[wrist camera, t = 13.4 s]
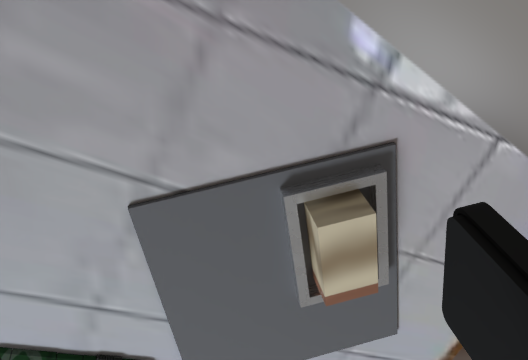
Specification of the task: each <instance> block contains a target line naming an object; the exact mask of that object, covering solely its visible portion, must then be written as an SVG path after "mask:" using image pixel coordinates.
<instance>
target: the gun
mask: <svg viewBox="0 0 528 360" xmlns="http://www.w3.org/2000/svg"><path fill="white" fill-rule="evenodd" d="M0 358H1V360H133V359H123V358H122V357H117V356H105V355H97V356H90V355H74V354H63V353H57V352H47V351H36V350H25V349H14V348H13V350H12V348H3V347H0Z"/></svg>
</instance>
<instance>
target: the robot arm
mask: <svg viewBox="0 0 528 360" xmlns="http://www.w3.org/2000/svg"><path fill="white" fill-rule="evenodd" d="M442 311H443V315H444V318H445V320H446V322H447V324H448V326H449V327H450V329H451V330H452V331H453V333H454V334H455V336H456V337H457V339H458V340H459V341H460V343H461V344H462V346H463V347H464V349H465V350H466V351H467V353H468V354H469V356H470V357H471V359H472V360H528V240H527V239H526V238H525V237H524V236H522V235H521V234H520V233H519V232H518V231H517V230H516V229H515V228H514V227H513V226H512V225H510V224H509V223H508V222H507V221H506V220H505V219H504V218H503V217H502V216H501V215H500V214H498V213H497V212H496V211H495V210H494V209H493V208H492V207H491V206H490V205H488V204H487V203H485V202H480V203H476V204H472V205H468V206H464V207H460V208H457V209H456V210H455V211H454V214H453V217H450V218H449V219H448V220H447V231H446V248H445V265H444V283H443V300H442ZM0 360H1V358H0Z"/></svg>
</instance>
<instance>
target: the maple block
mask: <svg viewBox="0 0 528 360" xmlns="http://www.w3.org/2000/svg"><path fill="white" fill-rule="evenodd" d="M304 206H305V214H306V223H307V231H308V239H309V247H310V255H311V264H312V272H313V278H314V280H315V283H316V285H317V287H318V289H319V292H320V294H321V296H322V298H323V301H324V303H325V305H326V306H330V305H333V304H337V303H341V302H345V301H348V300H352V299H356V298H360V297H363V296H367V295H371V294H375V293H378V262H377V228H376V212H375V211H374V210H373V208H372V207H371V206H370V204H369V203H368V201H367V200H366V199H365V197H364V196H363V194H362V193H361V192H360V190H359V189H356V190H352V191H348V192H344V193H340V194H336V195H332V196H327V197H323V198H319V199H315V200H311V201H307V202H304Z"/></svg>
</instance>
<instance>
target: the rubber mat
mask: <svg viewBox="0 0 528 360" xmlns="http://www.w3.org/2000/svg"><path fill="white" fill-rule="evenodd" d="M375 164H380V165H381V166H382V167H383V168H384V169H385V171H386V172H387V214H388V262H389V284H387V285H384V286H380V287H378V293H375V294H371V295H367V296H363V297H360V298H356V299H352V300H348V301H345V302H341V303H337V304H333V305H330V306H326V305H325V303H324V302H321V303H317V304H313V305H309V306H306V307H302V308H301V307H300V304H299V302H298V299H297V296H296V290H295V283H294V277H293V271H292V264H291V258H290V252H289V245H288V239H287V233H286V226H285V220H284V214H283V207H282V201H281V195H280V188H281V187H285V186H289V185H293V184H298V183H302V182H306V181H310V180H314V179H318V178H322V177H326V176H330V175H334V174H339V173H343V172H347V171H351V170H355V169H359V168H363V167H367V166H371V165H375ZM359 190H360V192H361V193H362V194H363V196H364V197H365V199H366V200H367V201H368V203H369V204H370V188H369V186H368V187H364V188H360V189H359ZM128 210H129V213H130V216H131V219H132V222H133V224H134V227H135V230H136V233H137V235H138V238H139V241H140V244H141V246H142V249H143V252H144V255H145V258H146V260H147V263H148V266H149V269H150V271H151V274H152V277H153V280H154V282H155V285H156V288H157V291H158V294H159V296H160V299H161V302H162V305H163V307H164V310H165V313H166V316H167V319H168V321H169V324H170V327H171V330H172V332H173V335H174V338H175V341H176V343H177V346H178V349H179V352H180V355H181V357H182V360H306V359H309V358H313V357H317V356H320V355H324V354H327V353H331V352H334V351H338V350H341V349H345V348H349V347H352V346H356V345H359V344H363V343H366V342H370V341H373V340H377V339H381V338H384V337H388V336H391V335H395V334H397V241H396V144H395V143H394V142H393V143H389V144H385V145H381V146H377V147H373V148H368V149H364V150H360V151H356V152H352V153H348V154H344V155H339V156H335V157H331V158H327V159H323V160H319V161H314V162H310V163H306V164H302V165H298V166H294V167H289V168H285V169H281V170H277V171H273V172H269V173H264V174H260V175H256V176H252V177H248V178H244V179H239V180H235V181H231V182H227V183H223V184H219V185H214V186H210V187H206V188H202V189H198V190H194V191H189V192H185V193H181V194H177V195H173V196H169V197H164V198H160V199H156V200H152V201H148V202H144V203H139V204H135V205H131V206H128ZM297 210H298V217H299V224H300V231H301V239H302V246H303V253H304V260H305V267H306V275H307V282H308V286H311V285H315V284H316V283H315V280H314V278H313V272H312V264H311V255H310V247H309V239H308V231H307V223H306V214H305V206H304V202H303V203H299V204H297Z"/></svg>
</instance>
